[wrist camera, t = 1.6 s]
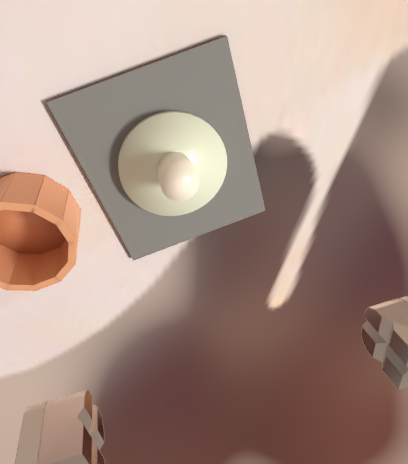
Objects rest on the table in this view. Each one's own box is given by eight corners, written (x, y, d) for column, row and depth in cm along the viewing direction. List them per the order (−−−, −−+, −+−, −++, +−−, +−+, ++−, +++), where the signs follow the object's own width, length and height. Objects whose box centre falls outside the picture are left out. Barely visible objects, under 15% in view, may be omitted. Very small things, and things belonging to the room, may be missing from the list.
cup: (50, 159, 28) (40, 186, 24) (96, 234, 33) (94, 268, 29) (-45, 194, 28) (-71, 228, 24) (14, 265, 33) (1, 303, 29)
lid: (208, 93, 28) (220, 105, 25) (235, 190, 33) (248, 210, 30) (98, 135, 28) (96, 152, 25) (143, 225, 33) (147, 249, 30)
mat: (225, 35, 26) (226, 36, 26) (264, 208, 36) (265, 210, 35) (46, 101, 26) (46, 102, 26) (133, 258, 35) (133, 260, 35)
